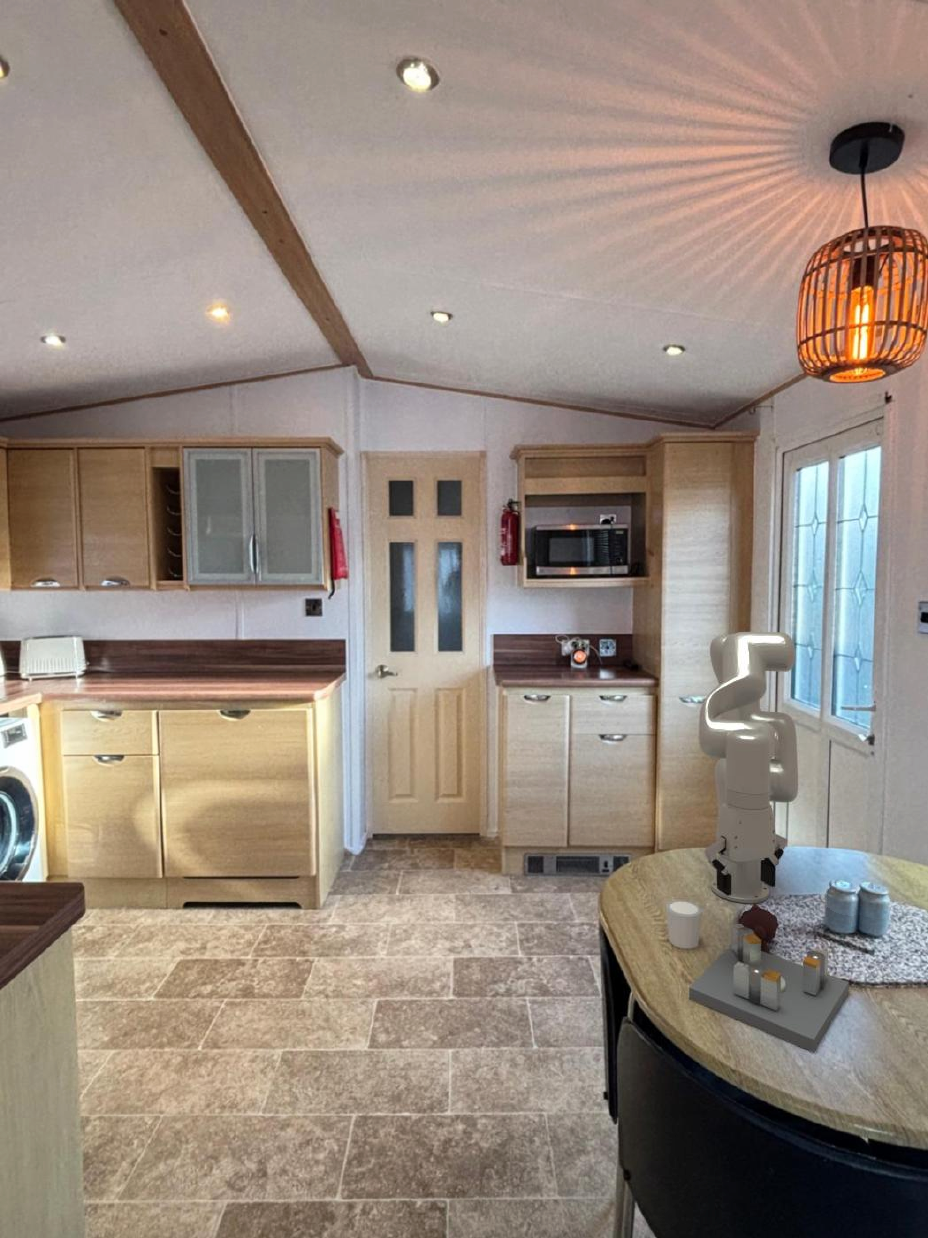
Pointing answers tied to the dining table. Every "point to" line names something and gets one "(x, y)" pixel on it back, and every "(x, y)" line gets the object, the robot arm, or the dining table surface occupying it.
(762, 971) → the grey blocks with cylinder
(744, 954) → the grey upright block
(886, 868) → the dining table surface
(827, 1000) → the plate
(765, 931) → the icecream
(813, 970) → the grey blocks with cylinder
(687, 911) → the white cylinder
